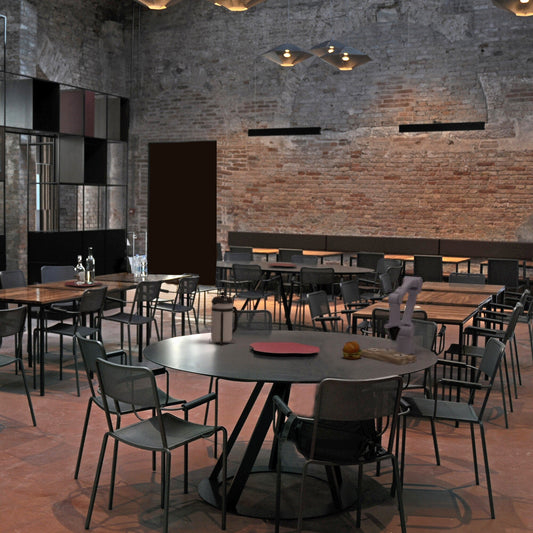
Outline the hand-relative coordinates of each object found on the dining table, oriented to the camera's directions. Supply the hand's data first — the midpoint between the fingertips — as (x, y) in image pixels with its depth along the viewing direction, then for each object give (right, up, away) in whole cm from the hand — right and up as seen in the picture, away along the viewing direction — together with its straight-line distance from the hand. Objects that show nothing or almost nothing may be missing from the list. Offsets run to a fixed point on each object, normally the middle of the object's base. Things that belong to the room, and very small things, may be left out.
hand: (393, 340), depth 401 cm
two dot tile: (-4, -7, -3) cm, 9 cm away
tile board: (-4, -10, -2) cm, 11 cm away
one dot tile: (-10, -8, +4) cm, 13 cm away
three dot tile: (+2, -9, -9) cm, 13 cm away
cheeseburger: (-23, -9, -3) cm, 25 cm away
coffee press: (-94, -5, +31) cm, 100 cm away
